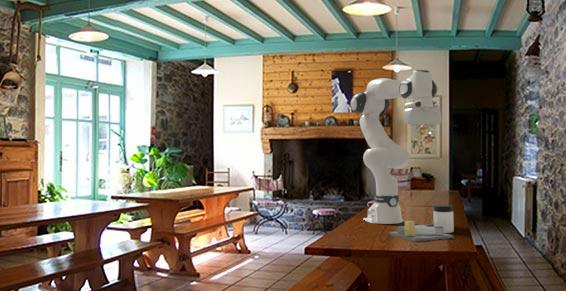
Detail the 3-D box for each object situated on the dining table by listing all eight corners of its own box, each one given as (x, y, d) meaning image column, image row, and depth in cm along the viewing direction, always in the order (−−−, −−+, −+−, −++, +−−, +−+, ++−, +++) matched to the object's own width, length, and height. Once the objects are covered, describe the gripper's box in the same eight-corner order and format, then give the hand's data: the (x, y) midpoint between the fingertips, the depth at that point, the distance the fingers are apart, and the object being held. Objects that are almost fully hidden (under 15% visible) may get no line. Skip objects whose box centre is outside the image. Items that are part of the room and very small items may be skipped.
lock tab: (404, 235, 233) (404, 221, 233) (410, 234, 234) (410, 220, 234) (408, 236, 230) (408, 221, 230) (414, 235, 231) (414, 221, 231)
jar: (444, 233, 245) (443, 206, 245) (429, 231, 252) (429, 205, 252) (457, 231, 250) (456, 205, 250) (443, 229, 257) (442, 204, 257)
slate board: (389, 234, 244) (389, 232, 244) (424, 231, 251) (424, 229, 251) (415, 241, 225) (415, 238, 225) (453, 238, 232) (453, 235, 232)
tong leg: (414, 234, 234) (414, 226, 234) (414, 233, 237) (414, 226, 237) (443, 234, 233) (443, 227, 233) (442, 233, 235) (442, 226, 235)
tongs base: (397, 233, 239) (397, 226, 239) (430, 231, 245) (430, 223, 245) (405, 235, 233) (405, 228, 234) (438, 232, 240) (438, 225, 240)
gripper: (434, 105, 261) (435, 134, 260) (401, 104, 251) (402, 134, 251) (444, 104, 255) (445, 134, 255) (410, 103, 245) (411, 133, 245)
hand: (423, 134), depth 253 cm, fingers open, 8 cm apart
